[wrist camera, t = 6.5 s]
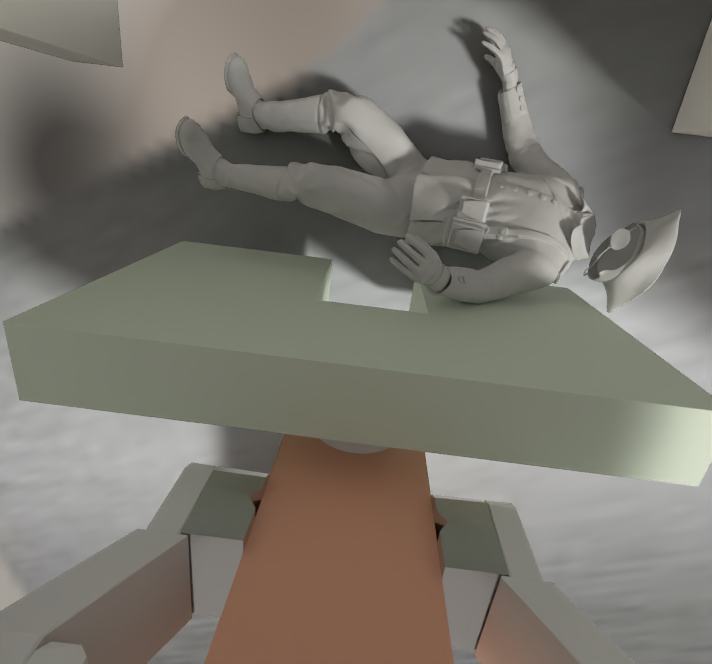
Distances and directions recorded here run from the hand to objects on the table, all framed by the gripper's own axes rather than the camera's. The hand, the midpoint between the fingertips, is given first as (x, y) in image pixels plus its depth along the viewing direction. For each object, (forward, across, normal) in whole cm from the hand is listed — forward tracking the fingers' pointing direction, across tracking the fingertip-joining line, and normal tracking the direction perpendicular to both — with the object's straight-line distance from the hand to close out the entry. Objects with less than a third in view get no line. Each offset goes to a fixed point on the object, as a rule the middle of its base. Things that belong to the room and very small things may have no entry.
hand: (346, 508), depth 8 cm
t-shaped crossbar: (+7, 0, 0) cm, 7 cm away
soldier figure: (+8, -1, -6) cm, 10 cm away
